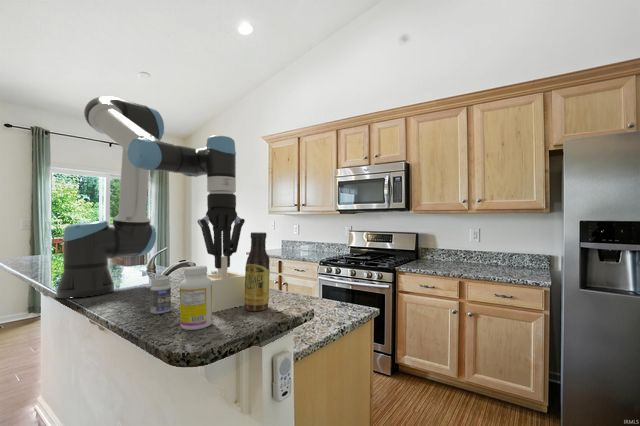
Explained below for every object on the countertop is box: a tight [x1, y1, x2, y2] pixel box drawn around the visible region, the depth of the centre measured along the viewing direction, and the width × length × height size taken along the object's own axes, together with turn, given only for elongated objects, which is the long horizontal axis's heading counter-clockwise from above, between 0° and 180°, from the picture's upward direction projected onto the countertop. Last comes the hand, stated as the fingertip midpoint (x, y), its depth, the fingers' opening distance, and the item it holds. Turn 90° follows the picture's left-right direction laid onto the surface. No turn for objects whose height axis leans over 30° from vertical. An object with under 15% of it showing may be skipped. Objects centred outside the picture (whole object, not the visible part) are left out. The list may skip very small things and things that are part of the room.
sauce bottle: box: [244, 231, 271, 312], centre depth 84 cm, size 6×6×20 cm
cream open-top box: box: [206, 270, 245, 313], centre depth 88 cm, size 12×10×9 cm
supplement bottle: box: [179, 265, 213, 331], centre depth 71 cm, size 7×7×13 cm
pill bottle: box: [149, 276, 172, 315], centre depth 83 cm, size 5×5×8 cm
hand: (222, 280), depth 88 cm, fingers closed
